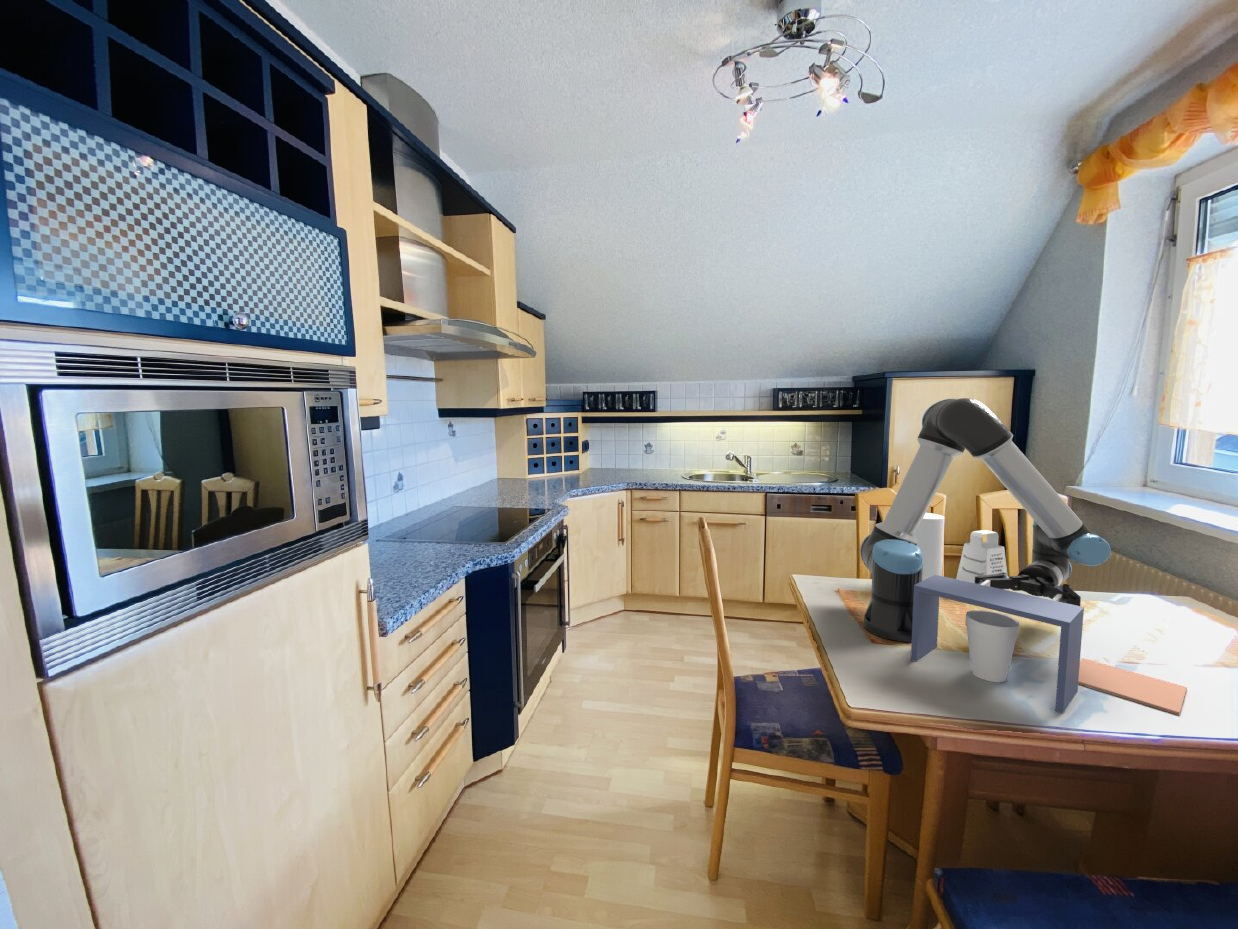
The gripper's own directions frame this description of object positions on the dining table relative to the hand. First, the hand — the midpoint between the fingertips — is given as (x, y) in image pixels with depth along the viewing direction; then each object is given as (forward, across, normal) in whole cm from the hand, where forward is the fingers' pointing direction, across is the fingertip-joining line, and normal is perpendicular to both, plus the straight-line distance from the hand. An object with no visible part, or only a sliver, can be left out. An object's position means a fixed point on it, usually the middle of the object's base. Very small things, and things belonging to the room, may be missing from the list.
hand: (1013, 599), depth 115 cm
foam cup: (+12, +1, -15) cm, 19 cm away
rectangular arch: (+12, +1, -15) cm, 19 cm away
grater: (-46, +20, -15) cm, 53 cm away
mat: (-5, -18, -15) cm, 24 cm away
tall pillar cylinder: (-34, +33, -15) cm, 50 cm away
